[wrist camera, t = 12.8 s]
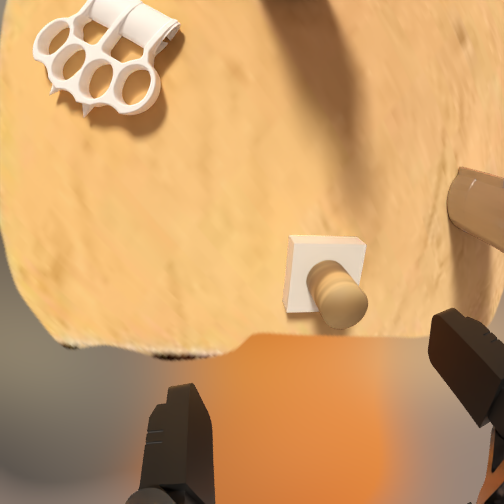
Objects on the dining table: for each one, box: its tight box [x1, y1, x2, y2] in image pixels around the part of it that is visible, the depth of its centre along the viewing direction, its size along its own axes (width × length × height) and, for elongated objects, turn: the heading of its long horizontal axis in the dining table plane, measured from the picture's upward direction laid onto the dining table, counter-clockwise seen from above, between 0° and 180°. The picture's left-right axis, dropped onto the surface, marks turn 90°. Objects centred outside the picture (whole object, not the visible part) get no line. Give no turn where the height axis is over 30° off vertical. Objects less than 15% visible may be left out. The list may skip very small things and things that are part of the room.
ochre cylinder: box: [306, 260, 368, 329], centre depth 35 cm, size 5×5×7 cm
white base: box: [282, 235, 366, 313], centre depth 40 cm, size 9×9×3 cm
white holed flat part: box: [33, 0, 181, 117], centre depth 28 cm, size 3×18×15 cm
